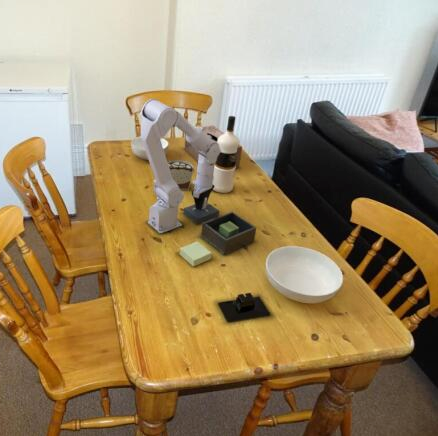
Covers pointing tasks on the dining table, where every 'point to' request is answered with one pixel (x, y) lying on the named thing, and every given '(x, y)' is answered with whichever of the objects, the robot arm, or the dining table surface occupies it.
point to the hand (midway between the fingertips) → (201, 205)
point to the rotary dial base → (201, 213)
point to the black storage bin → (232, 243)
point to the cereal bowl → (140, 150)
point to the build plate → (243, 308)
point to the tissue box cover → (215, 135)
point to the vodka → (226, 159)
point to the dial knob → (204, 203)
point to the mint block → (195, 253)
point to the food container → (181, 173)
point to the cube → (228, 229)
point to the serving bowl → (303, 274)
